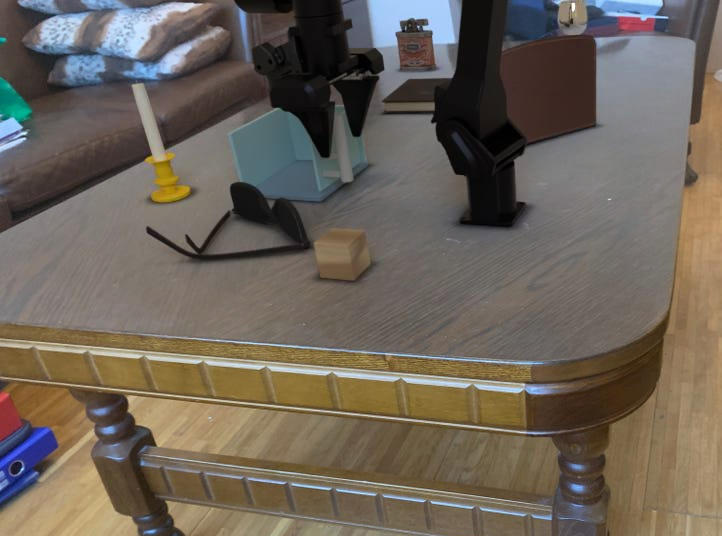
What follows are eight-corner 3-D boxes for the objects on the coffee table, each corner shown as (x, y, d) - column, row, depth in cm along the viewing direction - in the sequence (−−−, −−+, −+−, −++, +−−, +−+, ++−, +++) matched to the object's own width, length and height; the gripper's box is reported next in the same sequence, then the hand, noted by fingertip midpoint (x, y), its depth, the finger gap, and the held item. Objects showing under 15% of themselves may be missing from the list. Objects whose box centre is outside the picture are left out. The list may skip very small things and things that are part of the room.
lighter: (397, 71, 161) (391, 20, 156) (403, 67, 164) (397, 17, 159) (433, 71, 159) (427, 19, 154) (438, 67, 162) (433, 16, 156)
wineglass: (553, 66, 154) (551, 2, 148) (577, 62, 156) (577, -2, 150) (567, 71, 150) (566, 5, 143) (592, 66, 152) (593, 1, 145)
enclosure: (321, 201, 99) (308, 136, 95) (243, 197, 103) (226, 133, 98) (368, 165, 110) (358, 105, 106) (296, 162, 114) (283, 104, 109)
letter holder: (597, 125, 118) (598, 28, 111) (492, 156, 110) (485, 52, 102) (557, 113, 125) (555, 21, 118) (455, 141, 117) (446, 43, 109)
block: (354, 281, 79) (347, 245, 77) (320, 278, 80) (313, 243, 78) (371, 264, 82) (365, 229, 80) (338, 261, 83) (331, 227, 81)
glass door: (349, 193, 98) (336, 118, 93) (318, 191, 100) (304, 118, 95) (386, 163, 107) (376, 94, 102) (358, 162, 109) (347, 93, 104)
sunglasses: (138, 250, 90) (124, 211, 87) (246, 212, 98) (236, 174, 95) (205, 291, 79) (192, 247, 77) (320, 244, 88) (311, 203, 85)
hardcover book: (512, 112, 128) (511, 98, 127) (383, 113, 133) (381, 100, 132) (528, 88, 141) (528, 75, 140) (410, 90, 146) (409, 78, 145)
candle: (151, 193, 107) (114, 78, 99) (190, 186, 108) (157, 72, 100) (152, 205, 103) (113, 86, 94) (192, 197, 104) (157, 79, 96)
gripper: (299, 2, 98) (321, 124, 107) (212, 30, 83) (246, 169, 92) (377, -1, 95) (394, 125, 103) (300, 28, 80) (328, 173, 88)
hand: (341, 146), depth 97 cm, fingers open, 8 cm apart
